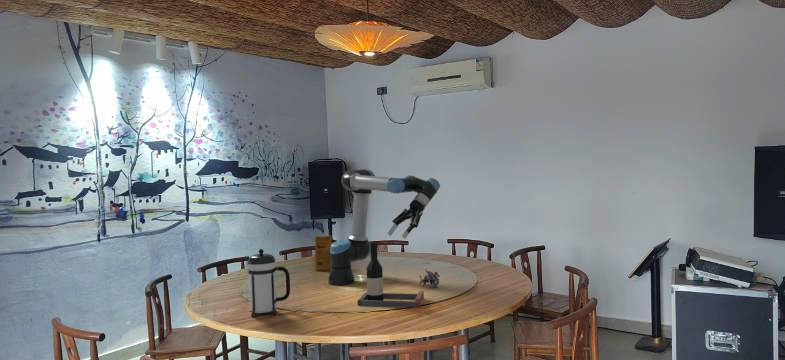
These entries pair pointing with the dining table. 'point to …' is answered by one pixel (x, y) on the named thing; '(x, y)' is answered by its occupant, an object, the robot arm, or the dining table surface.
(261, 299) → the coffee press
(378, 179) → the robot arm
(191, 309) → the dining table surface
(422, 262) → the dining table surface
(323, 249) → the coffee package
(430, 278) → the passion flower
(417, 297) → the frame
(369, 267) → the wine bottle
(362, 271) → the dining table surface
